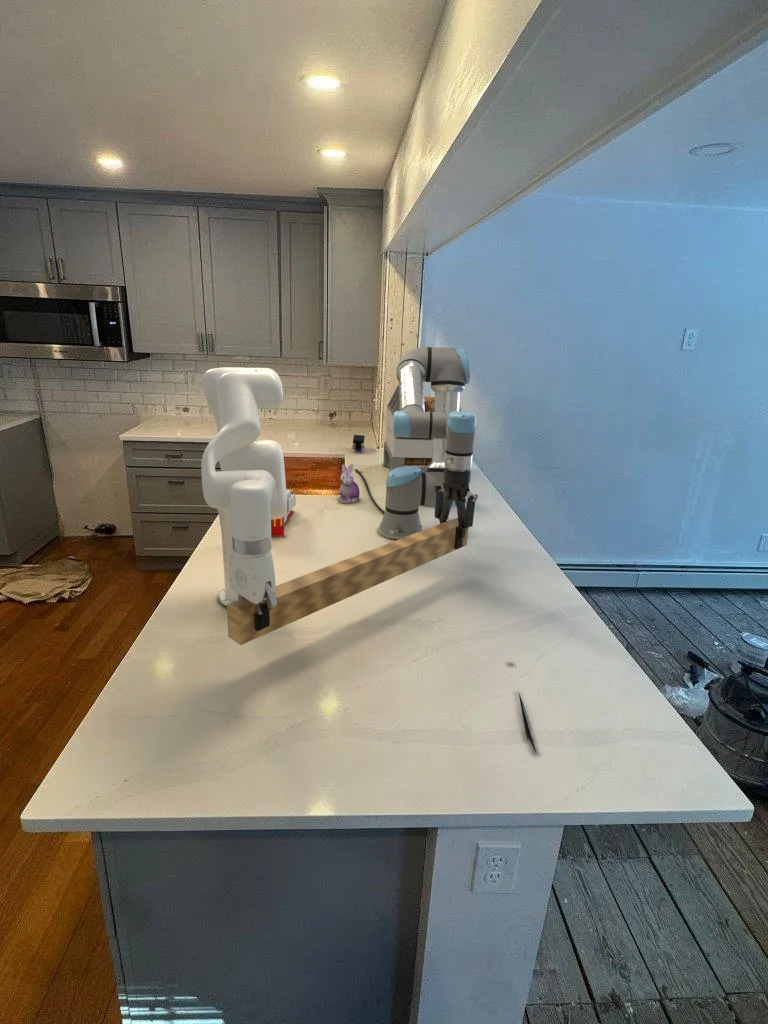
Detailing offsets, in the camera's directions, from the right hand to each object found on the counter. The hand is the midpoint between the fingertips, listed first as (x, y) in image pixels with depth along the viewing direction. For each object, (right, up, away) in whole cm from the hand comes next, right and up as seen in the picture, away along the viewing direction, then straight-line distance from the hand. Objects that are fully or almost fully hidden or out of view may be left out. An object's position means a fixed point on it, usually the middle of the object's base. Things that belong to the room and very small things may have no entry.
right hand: (451, 545), depth 165 cm
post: (-23, -8, -23) cm, 34 cm away
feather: (+8, -30, -50) cm, 59 cm away
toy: (-59, +6, +40) cm, 71 cm away
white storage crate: (-2, +28, +109) cm, 113 cm away
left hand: (-46, -13, -47) cm, 68 cm away
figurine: (-34, +14, +66) cm, 76 cm away
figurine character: (-34, +43, +147) cm, 157 cm away
